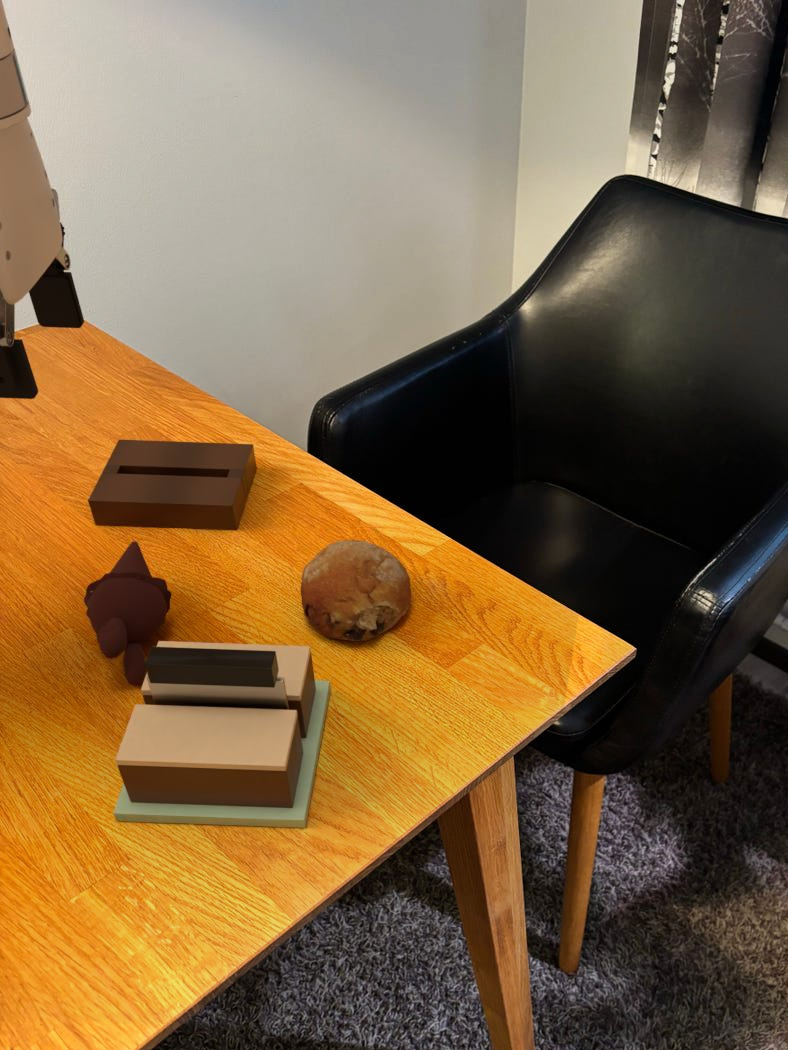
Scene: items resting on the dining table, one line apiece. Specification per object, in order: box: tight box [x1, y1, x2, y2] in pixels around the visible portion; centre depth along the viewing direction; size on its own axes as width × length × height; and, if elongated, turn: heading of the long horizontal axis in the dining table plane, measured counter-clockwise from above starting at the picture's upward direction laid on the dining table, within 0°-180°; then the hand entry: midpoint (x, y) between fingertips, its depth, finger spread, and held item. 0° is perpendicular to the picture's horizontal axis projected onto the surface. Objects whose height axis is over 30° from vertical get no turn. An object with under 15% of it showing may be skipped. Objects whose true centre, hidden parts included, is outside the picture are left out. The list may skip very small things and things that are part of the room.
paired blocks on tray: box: [112, 640, 332, 829], centre depth 77 cm, size 14×14×6 cm
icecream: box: [83, 540, 173, 686], centre depth 86 cm, size 7×7×15 cm
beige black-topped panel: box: [145, 646, 289, 710], centre depth 75 cm, size 10×2×10 cm, turn 89°
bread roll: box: [300, 539, 412, 642], centre depth 90 cm, size 10×10×8 cm
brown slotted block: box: [87, 439, 258, 531], centre depth 101 cm, size 14×11×3 cm
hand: (39, 359), depth 70 cm, fingers open, 9 cm apart
